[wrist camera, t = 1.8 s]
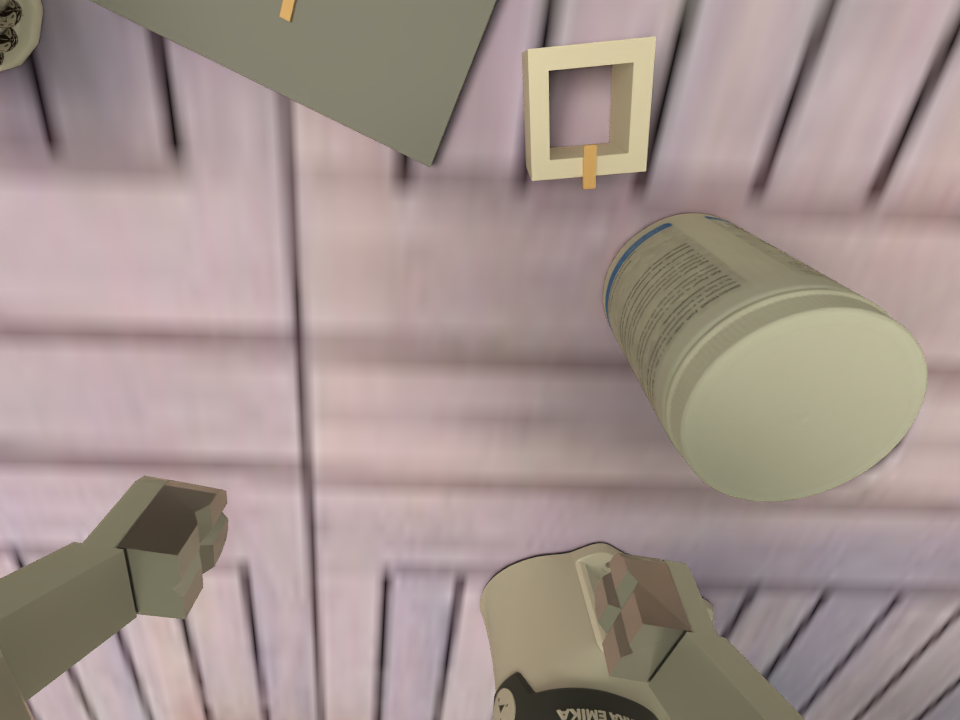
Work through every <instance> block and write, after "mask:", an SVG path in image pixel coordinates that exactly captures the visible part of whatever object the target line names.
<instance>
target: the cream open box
mask: <svg viewBox="0 0 960 720" xmlns="http://www.w3.org/2000/svg"><path fill="white" fill-rule="evenodd" d="M655 44H656V37H646V38H636V39H626V40H616V41H606V42H596V43H586V44H576V45H566V46H556V47H546V48H536V49H528V50H526V51H525V52H523V53H522V68H523V95H524V122H525V149H526V168H527V170H528V173H529V175H530V177H531V180H532V181H538V180H549V179H561V178H573V177H583V178H582V188H583V189H593V188H596V175H608V174H620V173H631V172H643V171H646V164H647V150H648V137H649V124H650V110H651V97H652V84H653V70H654V57H655ZM602 65H612V82H611V107H610V132H609V143H600V144H589V145H577V146H566V147H555V148H550V137H549V71H551V70H561V69H572V68H582V67H592V66H602Z"/></svg>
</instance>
